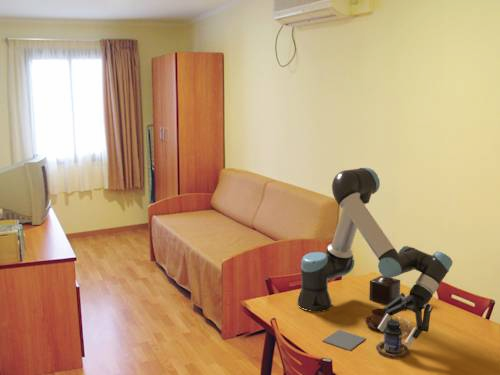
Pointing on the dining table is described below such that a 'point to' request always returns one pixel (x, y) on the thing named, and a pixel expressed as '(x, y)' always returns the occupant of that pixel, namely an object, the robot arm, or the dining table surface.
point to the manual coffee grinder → (384, 290)
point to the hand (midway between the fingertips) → (393, 337)
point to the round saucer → (392, 354)
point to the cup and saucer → (375, 318)
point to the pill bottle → (393, 337)
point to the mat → (344, 340)
